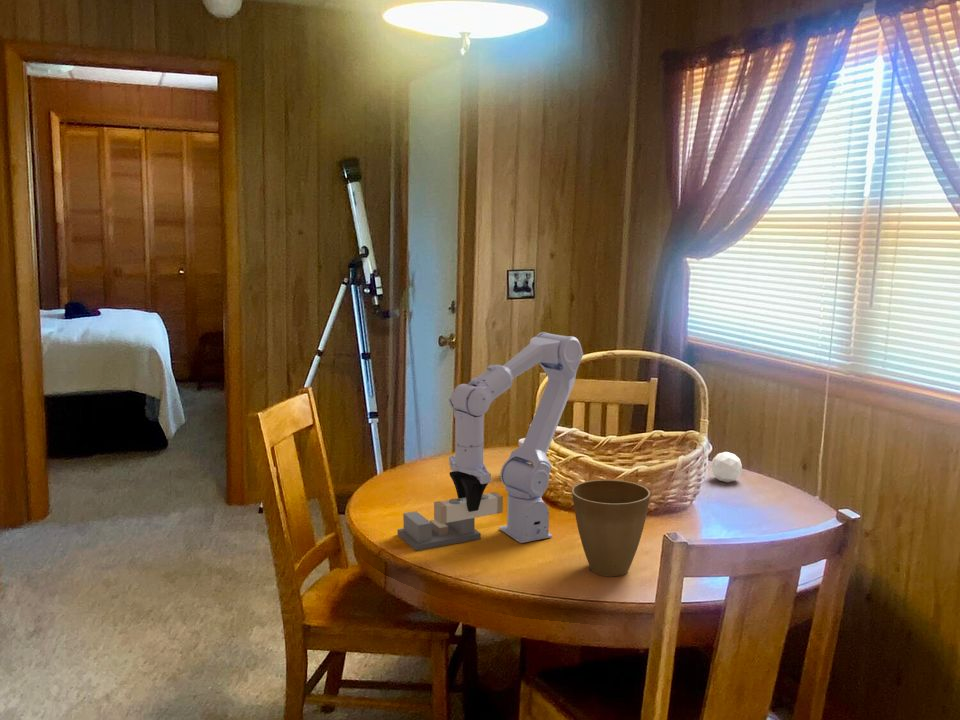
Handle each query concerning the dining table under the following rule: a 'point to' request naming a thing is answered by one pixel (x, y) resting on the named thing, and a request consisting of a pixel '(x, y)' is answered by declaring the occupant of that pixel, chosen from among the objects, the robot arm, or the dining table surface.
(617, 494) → the plant pot
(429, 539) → the grey fixture base
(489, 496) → the frame bar
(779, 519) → the dining table surface
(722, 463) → the geometric ball
